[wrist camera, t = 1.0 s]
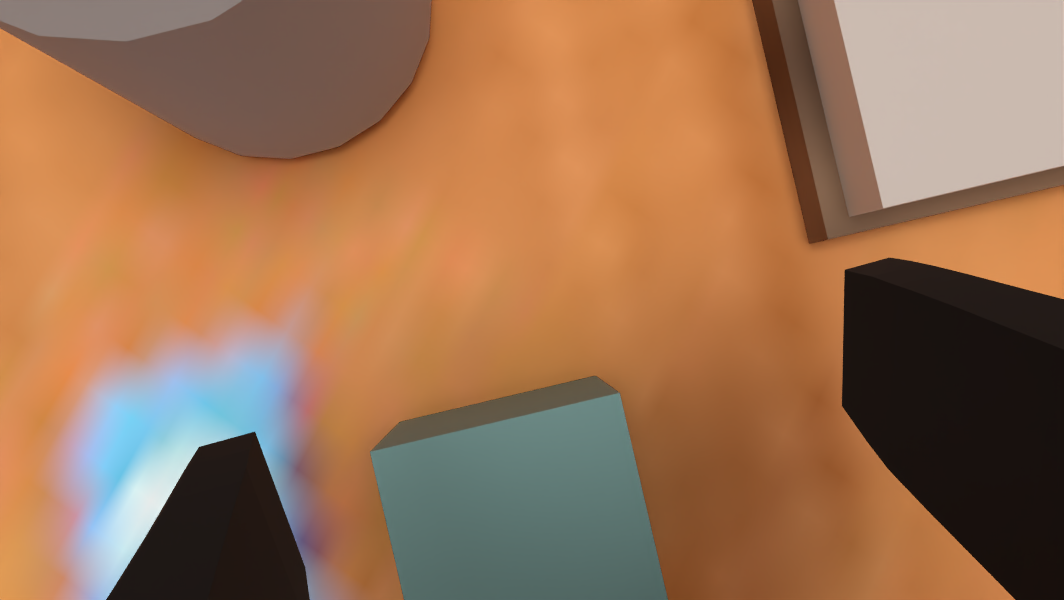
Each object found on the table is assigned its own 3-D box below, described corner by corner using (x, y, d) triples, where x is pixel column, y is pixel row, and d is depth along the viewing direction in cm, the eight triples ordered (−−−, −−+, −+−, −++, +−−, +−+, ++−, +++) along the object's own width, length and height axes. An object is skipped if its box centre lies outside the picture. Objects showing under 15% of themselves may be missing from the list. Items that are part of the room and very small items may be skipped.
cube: (640, 569, 23) (677, 642, 18) (445, 617, 23) (427, 703, 18) (595, 375, 23) (619, 392, 18) (400, 421, 23) (370, 451, 18)
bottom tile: (1060, 185, 24) (1110, 174, 22) (801, 245, 24) (827, 239, 22) (998, -75, 24) (1043, -111, 22) (739, -17, 24) (761, -48, 22)
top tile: (1090, 159, 22) (1149, 145, 20) (848, 217, 22) (883, 208, 20) (1033, -85, 22) (1086, -124, 20) (791, -29, 22) (818, -63, 20)
